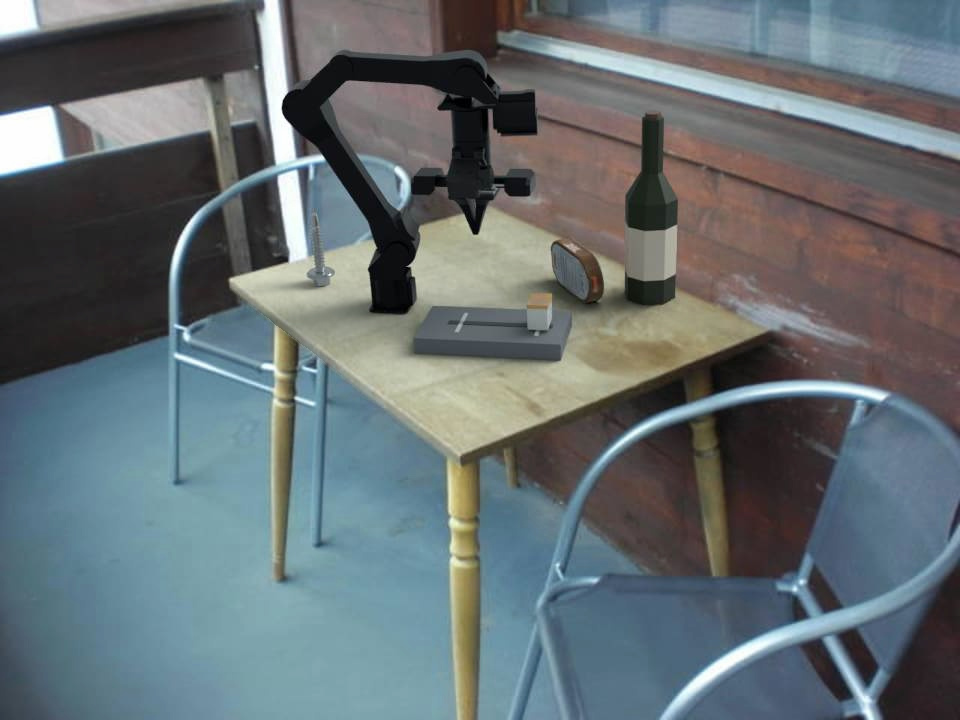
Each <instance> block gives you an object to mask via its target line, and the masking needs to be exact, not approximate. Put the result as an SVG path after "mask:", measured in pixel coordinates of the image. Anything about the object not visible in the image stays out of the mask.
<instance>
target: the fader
mask: <svg viewBox="0 0 960 720" xmlns="http://www.w3.org/2000/svg"><path fill="white" fill-rule="evenodd" d="M552 299H553V293H545V292H544V293H543V292H531V293H530V295H529V298H528V300H527V302H526V305H525V306H526V309H527V325H528V330H548V328H549V325H550V323H551V320H552V310H553V301H552Z"/></svg>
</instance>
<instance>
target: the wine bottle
mask: <svg viewBox="0 0 960 720" xmlns="http://www.w3.org/2000/svg"><path fill="white" fill-rule="evenodd" d="M664 132H665V117H664V116H663V115H662V112H661V110H655V109H654V110H652V109H651V110H647V111H645V112H644V116H642V117H641V148H640V149H641V153H640V154H641V155H640V156H641V159H640V166H641V167H640V169H641V170H640V172H639V173H638V175H637V176H636V178H635V179H634V181H633V183H632V184H631V186H630V187H629V189H628V190H627V192H626V193H625V196H624V197H625V203H624V204H625V206H624V208H625V209H624V212H625V213H624V214H625V215H624V216H625V217H624V223H625V224H624V296H625V298H626V301H627V302H631V303H635V304H637V305H641V306H655V305H657V304H659V305H665V304H667V303H668V301H669V302H670V301H672V300H674V299H676V281H677V280H676V279H677V276H676V275H677V246H678V245H677V243H678V214H679V213H678V209H679V206H678V205H679V197H677V194H676V193H675V191H674V189H673V188H672V185H671V184H670V182H669V181H668V178H667V177H666V175H665V173H664V171H663V170H664V138H665V137H664V136H665V134H664ZM673 298H674V299H673ZM671 299H672V300H671Z"/></svg>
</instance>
